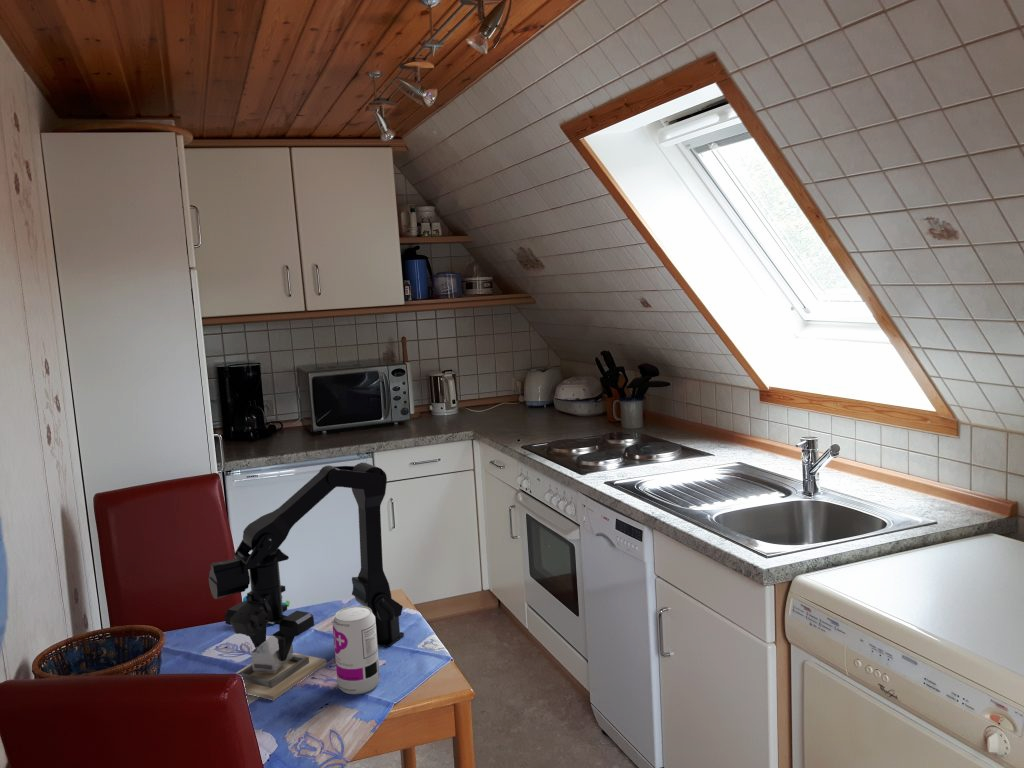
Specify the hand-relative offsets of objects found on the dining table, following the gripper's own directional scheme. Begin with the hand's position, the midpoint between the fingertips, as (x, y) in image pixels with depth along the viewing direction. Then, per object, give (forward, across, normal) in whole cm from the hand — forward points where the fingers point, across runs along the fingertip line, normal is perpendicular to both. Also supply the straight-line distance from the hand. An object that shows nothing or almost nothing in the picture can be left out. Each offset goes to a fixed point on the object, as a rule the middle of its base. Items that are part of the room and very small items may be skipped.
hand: (272, 658), depth 169 cm
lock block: (+1, 0, 0) cm, 1 cm away
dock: (+4, 0, 0) cm, 4 cm away
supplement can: (+4, +19, +3) cm, 20 cm away
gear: (+4, -21, +20) cm, 29 cm away
